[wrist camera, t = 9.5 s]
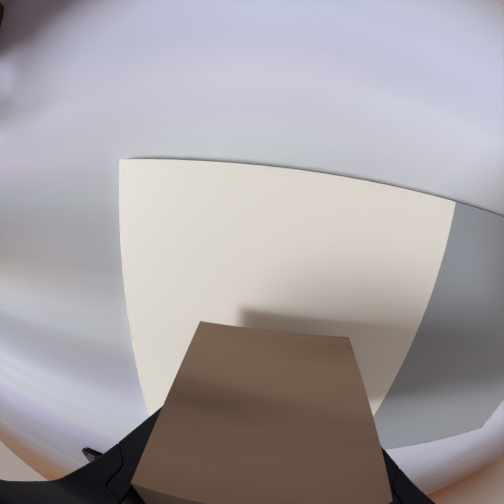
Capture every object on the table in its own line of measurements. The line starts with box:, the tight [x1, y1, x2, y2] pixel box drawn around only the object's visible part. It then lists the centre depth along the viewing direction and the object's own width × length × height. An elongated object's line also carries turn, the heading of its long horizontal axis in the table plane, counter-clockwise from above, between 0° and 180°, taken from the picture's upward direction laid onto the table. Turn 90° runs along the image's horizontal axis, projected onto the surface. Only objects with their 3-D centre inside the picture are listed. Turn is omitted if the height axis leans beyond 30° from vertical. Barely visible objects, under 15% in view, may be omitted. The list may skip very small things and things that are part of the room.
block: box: [131, 321, 393, 504], centre depth 7 cm, size 5×5×6 cm
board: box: [119, 159, 504, 450], centre depth 11 cm, size 15×24×1 cm, turn 85°
